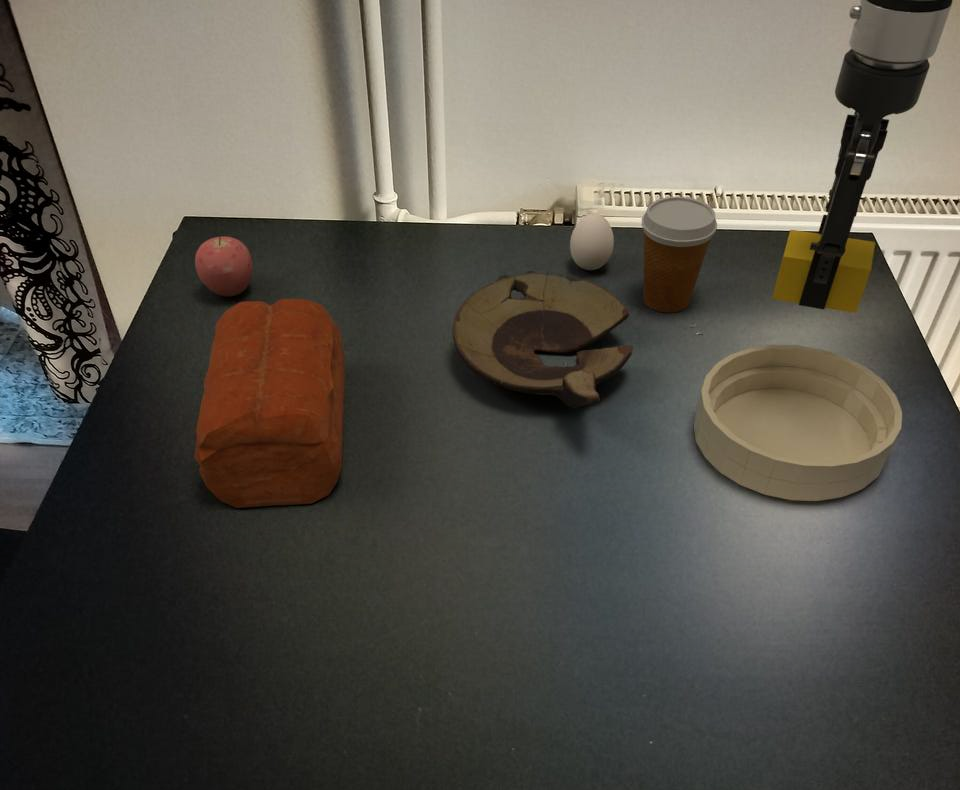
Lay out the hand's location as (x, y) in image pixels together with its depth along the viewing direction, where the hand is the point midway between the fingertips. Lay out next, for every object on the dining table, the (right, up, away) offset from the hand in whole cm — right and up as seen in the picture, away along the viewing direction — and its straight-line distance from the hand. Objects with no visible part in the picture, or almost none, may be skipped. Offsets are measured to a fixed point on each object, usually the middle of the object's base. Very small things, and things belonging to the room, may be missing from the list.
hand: (815, 289), depth 99 cm
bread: (-61, -14, +6) cm, 63 cm away
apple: (-72, +9, +25) cm, 77 cm away
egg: (-22, +14, +28) cm, 38 cm away
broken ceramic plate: (-30, -6, +13) cm, 33 cm away
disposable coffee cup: (-12, +7, +23) cm, 27 cm away
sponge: (0, 0, 0) cm, 0 cm away
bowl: (-2, -16, +4) cm, 17 cm away
